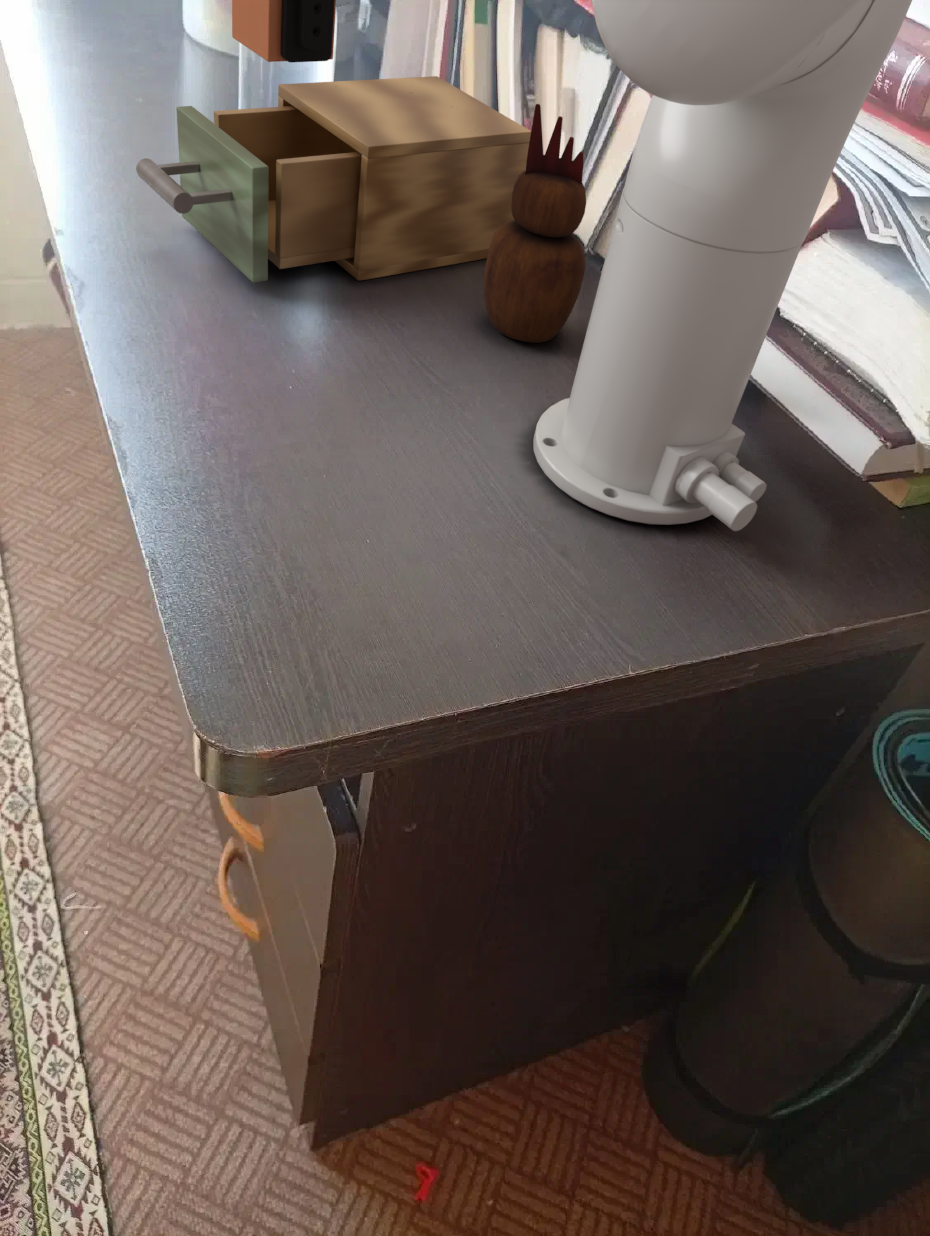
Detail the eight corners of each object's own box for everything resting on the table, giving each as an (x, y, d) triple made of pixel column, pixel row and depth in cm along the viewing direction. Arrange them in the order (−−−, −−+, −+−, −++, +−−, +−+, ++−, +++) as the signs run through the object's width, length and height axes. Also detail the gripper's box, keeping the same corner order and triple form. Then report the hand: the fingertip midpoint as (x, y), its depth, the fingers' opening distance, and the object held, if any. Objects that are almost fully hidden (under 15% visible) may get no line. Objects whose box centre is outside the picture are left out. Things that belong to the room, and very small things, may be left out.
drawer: (195, 292, 66) (189, 174, 60) (126, 223, 72) (115, 109, 66) (412, 256, 75) (424, 150, 69) (335, 197, 81) (341, 96, 75)
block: (333, 59, 60) (338, -26, 57) (268, 62, 57) (269, -27, 54) (295, 35, 62) (298, -48, 59) (231, 37, 60) (231, -50, 57)
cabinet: (358, 281, 72) (368, 146, 66) (276, 212, 79) (278, 83, 72) (509, 254, 80) (532, 131, 73) (423, 194, 86) (436, 75, 80)
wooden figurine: (463, 329, 69) (499, 103, 59) (497, 301, 73) (537, 85, 63) (548, 362, 68) (600, 136, 57) (579, 332, 72) (633, 115, 61)
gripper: (145, -408, 49) (164, 3, 62) (319, -369, 41) (301, 98, 53) (276, -379, 53) (269, 2, 66) (460, -337, 45) (412, 91, 57)
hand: (283, 41), depth 60 cm, fingers closed on block, 4 cm apart
